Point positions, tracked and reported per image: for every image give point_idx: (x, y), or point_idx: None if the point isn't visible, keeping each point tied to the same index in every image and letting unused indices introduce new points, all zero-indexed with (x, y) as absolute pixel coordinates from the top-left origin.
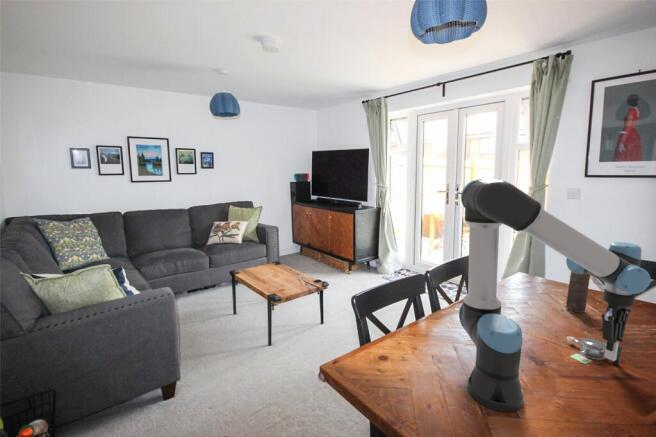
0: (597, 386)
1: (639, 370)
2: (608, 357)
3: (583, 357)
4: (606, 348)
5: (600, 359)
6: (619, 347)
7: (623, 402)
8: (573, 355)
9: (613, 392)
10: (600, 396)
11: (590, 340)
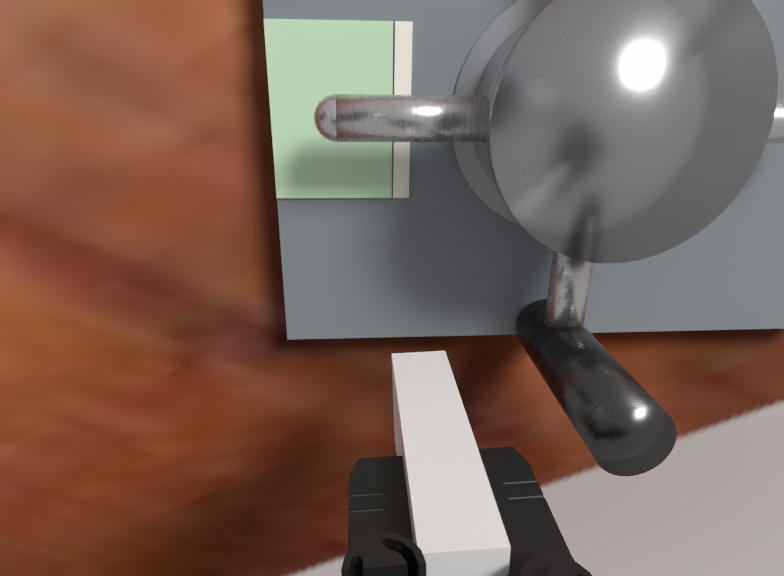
0: (110, 387)
1: None
2: (393, 399)
3: None
4: (350, 477)
5: (510, 221)
6: (617, 461)
7: (118, 531)
8: (327, 34)
9: (160, 462)
10: (15, 454)
11: (695, 49)
